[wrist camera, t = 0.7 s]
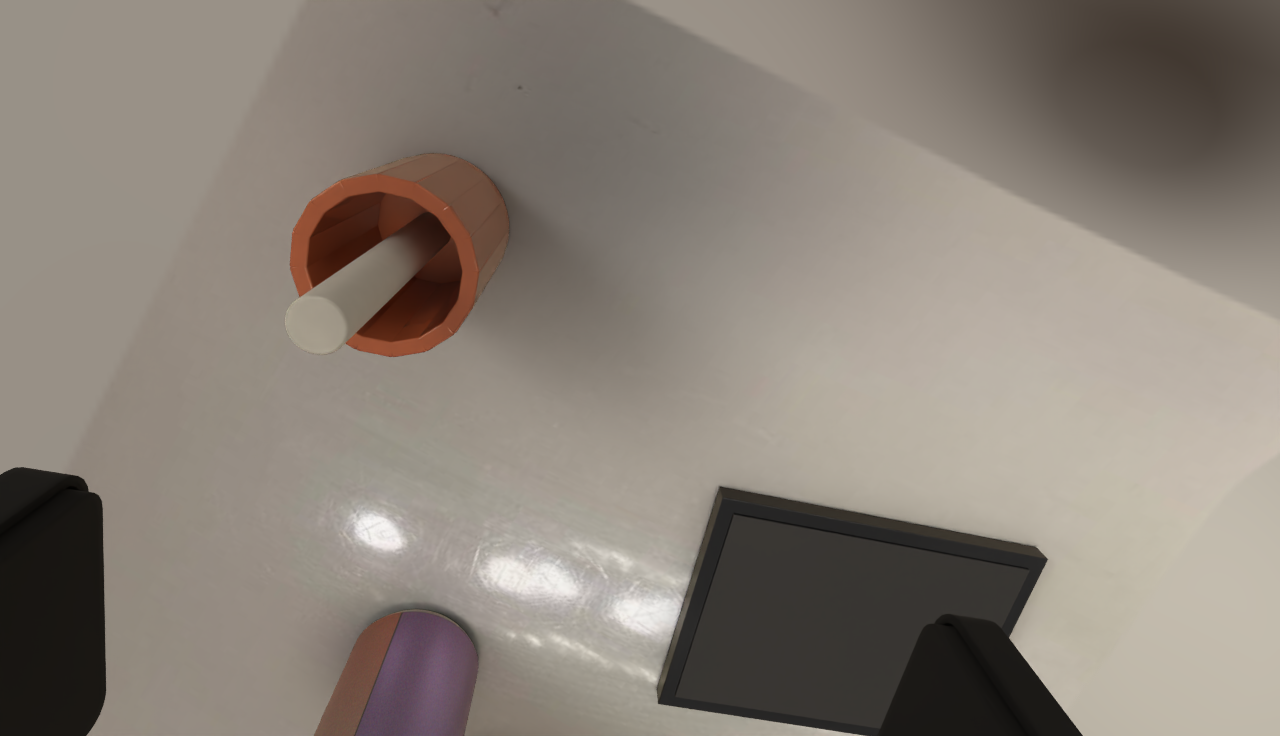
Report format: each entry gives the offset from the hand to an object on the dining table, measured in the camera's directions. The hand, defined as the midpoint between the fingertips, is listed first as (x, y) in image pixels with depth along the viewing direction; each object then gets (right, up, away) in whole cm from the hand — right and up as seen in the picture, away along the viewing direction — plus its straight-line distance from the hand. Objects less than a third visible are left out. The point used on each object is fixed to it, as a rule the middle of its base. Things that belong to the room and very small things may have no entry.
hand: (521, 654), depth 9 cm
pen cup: (-7, +9, +21) cm, 24 cm away
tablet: (+11, -9, +29) cm, 32 cm away
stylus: (-7, +9, +20) cm, 23 cm away
